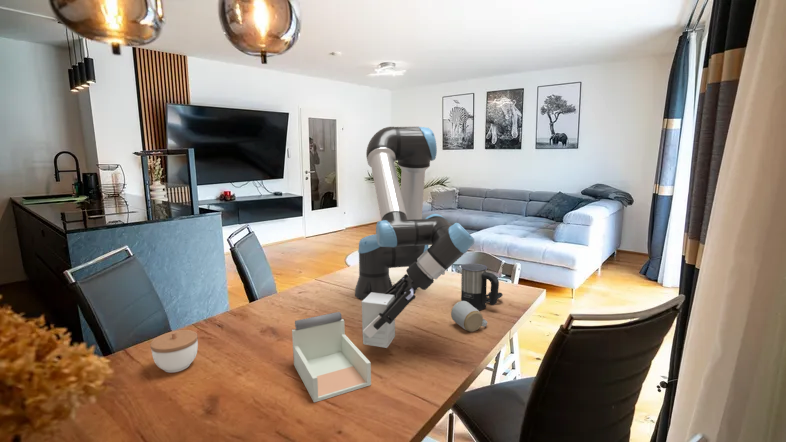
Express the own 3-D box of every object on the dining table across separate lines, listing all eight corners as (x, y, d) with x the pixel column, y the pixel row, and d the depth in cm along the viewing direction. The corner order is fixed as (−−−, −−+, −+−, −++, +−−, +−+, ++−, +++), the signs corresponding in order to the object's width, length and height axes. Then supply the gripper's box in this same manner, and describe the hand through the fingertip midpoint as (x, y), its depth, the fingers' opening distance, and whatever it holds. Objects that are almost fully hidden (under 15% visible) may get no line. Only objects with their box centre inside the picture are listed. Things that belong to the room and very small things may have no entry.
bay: (293, 363, 103) (290, 320, 101) (343, 350, 110) (341, 309, 108) (314, 402, 87) (311, 351, 85) (371, 384, 93) (370, 337, 91)
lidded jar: (168, 382, 95) (163, 346, 93) (145, 370, 101) (140, 336, 99) (208, 362, 104) (205, 329, 102) (185, 352, 110) (182, 320, 108)
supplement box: (395, 336, 112) (395, 294, 109) (387, 348, 105) (386, 304, 102) (371, 332, 114) (371, 291, 111) (361, 344, 107) (360, 301, 105)
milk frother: (457, 309, 139) (458, 268, 136) (466, 294, 153) (467, 257, 151) (498, 314, 134) (500, 273, 131) (503, 299, 148) (505, 261, 145)
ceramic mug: (464, 335, 119) (465, 311, 117) (450, 324, 126) (451, 301, 125) (492, 329, 123) (494, 306, 122) (477, 319, 130) (478, 297, 129)
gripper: (440, 295, 95) (376, 355, 98) (430, 267, 117) (377, 317, 120) (419, 274, 94) (354, 336, 97) (412, 250, 116) (360, 301, 118)
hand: (367, 325), depth 108 cm, fingers closed on supplement box, 9 cm apart
